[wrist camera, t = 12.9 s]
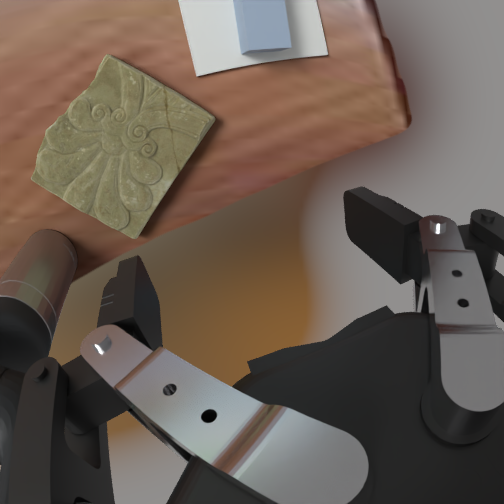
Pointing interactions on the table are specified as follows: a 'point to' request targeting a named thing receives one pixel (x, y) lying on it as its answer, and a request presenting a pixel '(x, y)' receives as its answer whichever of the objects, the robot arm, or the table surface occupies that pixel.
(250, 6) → the block
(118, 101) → the decorative tile
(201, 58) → the mat
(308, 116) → the table surface
